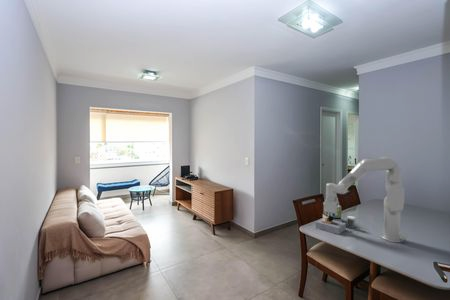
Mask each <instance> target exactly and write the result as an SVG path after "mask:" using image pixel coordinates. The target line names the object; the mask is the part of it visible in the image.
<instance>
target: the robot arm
mask: <svg viewBox="0 0 450 300" xmlns="http://www.w3.org/2000/svg"><path fill="white" fill-rule="evenodd" d="M401 170H402V169H401V168H400V165H399V164H398V162H396V161H395V160H394V159H393V158H391V157H388V156H380V157H379V158H371V159H370V158H363V159H362V160H360V161H359V162H358V164H356V166H354V167H353V168H352V170H351V171H349V172H348V173H347V174H346V175H345V176H344V177H343V178H342V179H341V180H340V181H339V182H338V184H336V183H333V182H327V183H326V184H325V199H324V201H323V202H324V212H325V213H327V214H328V216H329V217H328V219H329V221H332V220H333V216H334V215H338V205H339V202H338V200H339V198H338V197H337V194H339V195H345V194H347V193H348V189H349V188H350V187H351V186H352V185H353V184H354V183H356V182H358V181H360V180H361V179H362V178H364V176H365V175H366V174H367V173H368V172H375V171H378V172H379V171H385V187H384V188H385V191H386V196H385V197H384V199H383V233H382V234H380V237H381V239H383V240H385V241H387V242H391V243H402V242H403V241H406V242H408V240H409V239H408V237H407V236H403V235H402V233H401V211H403V209H404V205H405V188H404V186H403V185H402V172H401Z"/></svg>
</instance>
